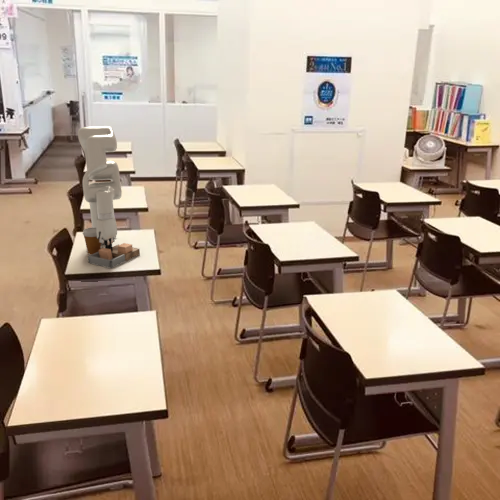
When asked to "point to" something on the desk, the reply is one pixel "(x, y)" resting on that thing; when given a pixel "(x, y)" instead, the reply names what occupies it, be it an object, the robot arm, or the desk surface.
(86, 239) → the disposable coffee cup
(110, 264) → the tray
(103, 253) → the tile
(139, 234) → the desk surface
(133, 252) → the brown wooden slab
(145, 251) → the desk surface
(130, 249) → the tile
